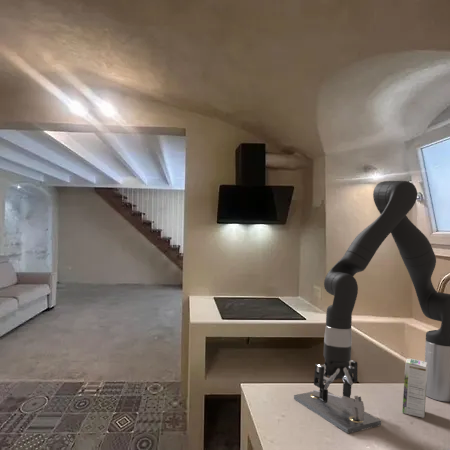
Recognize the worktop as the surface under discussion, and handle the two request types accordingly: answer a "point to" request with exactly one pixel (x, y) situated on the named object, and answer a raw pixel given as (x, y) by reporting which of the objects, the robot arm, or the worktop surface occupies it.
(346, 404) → the caliper
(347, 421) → the hole plate
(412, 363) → the syrup box
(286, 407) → the worktop surface
